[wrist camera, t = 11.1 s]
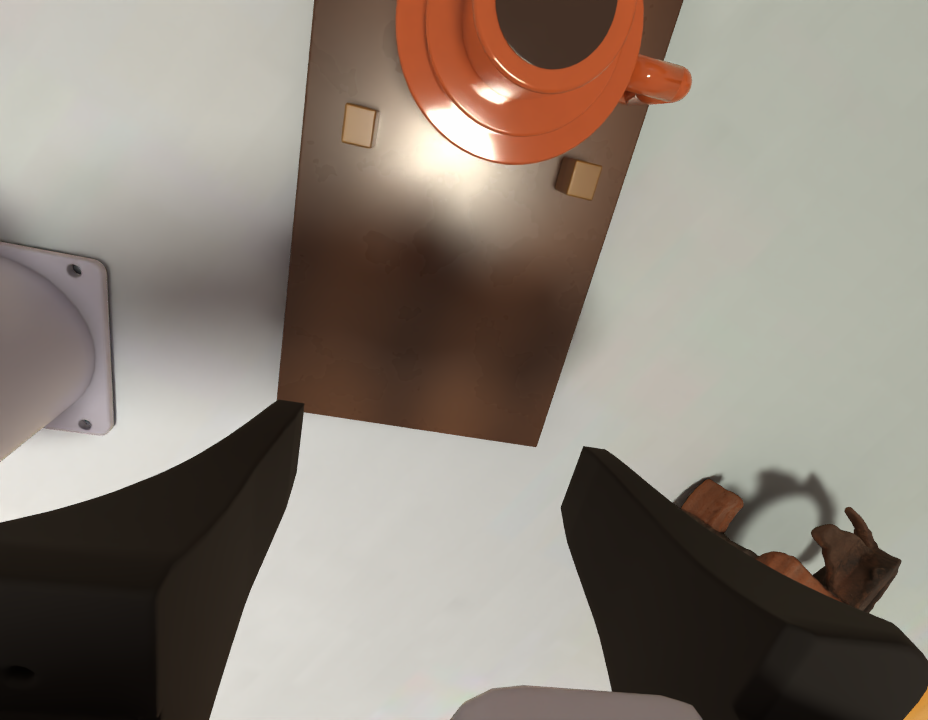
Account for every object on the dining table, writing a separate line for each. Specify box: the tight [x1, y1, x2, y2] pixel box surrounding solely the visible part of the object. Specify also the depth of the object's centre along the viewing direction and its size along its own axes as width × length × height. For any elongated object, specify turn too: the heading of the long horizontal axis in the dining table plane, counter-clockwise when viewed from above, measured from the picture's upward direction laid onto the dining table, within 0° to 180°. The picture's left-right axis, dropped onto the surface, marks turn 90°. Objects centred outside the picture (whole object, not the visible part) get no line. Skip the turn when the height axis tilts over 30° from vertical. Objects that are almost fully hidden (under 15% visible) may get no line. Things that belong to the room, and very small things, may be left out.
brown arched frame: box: [681, 479, 901, 613], centre depth 27 cm, size 12×10×8 cm
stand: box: [277, 0, 683, 447], centre depth 19 cm, size 12×20×3 cm, turn 167°
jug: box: [395, 0, 692, 165], centre depth 14 cm, size 6×8×10 cm
